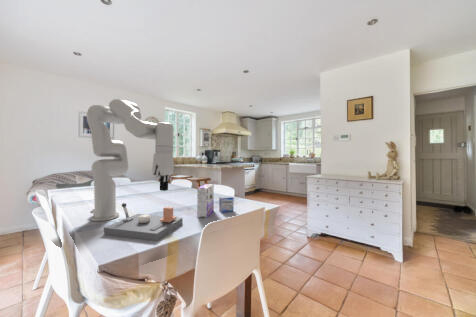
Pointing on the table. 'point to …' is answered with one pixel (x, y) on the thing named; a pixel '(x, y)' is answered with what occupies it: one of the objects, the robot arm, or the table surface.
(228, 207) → the medicine box
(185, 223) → the table surface
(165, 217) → the block
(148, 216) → the push button
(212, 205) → the candy box
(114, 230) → the control board
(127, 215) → the toggle lever
